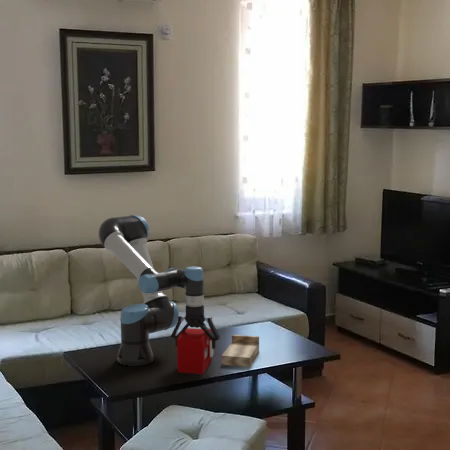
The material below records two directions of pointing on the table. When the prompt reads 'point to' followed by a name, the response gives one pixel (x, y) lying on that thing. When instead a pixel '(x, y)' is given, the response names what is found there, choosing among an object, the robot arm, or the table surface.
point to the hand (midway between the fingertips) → (195, 355)
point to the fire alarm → (193, 351)
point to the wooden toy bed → (241, 351)
